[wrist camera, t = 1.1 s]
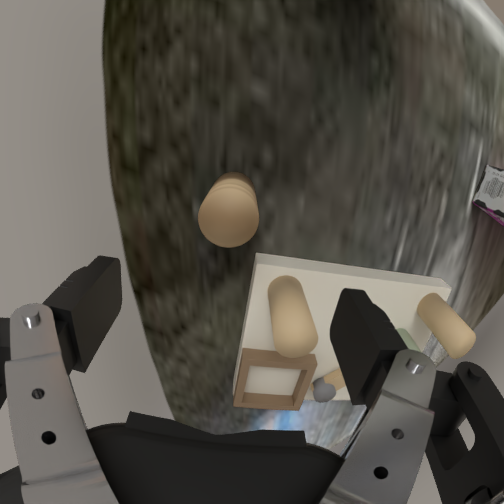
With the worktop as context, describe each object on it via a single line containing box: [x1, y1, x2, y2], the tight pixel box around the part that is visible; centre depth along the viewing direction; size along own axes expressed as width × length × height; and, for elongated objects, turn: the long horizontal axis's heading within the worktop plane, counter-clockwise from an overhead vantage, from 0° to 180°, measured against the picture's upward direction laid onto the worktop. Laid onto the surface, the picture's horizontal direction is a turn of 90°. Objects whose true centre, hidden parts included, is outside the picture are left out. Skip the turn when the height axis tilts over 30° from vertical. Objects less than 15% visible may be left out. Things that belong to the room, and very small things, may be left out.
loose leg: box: [198, 172, 259, 248], centre depth 22 cm, size 4×4×8 cm
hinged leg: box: [310, 328, 422, 402], centre depth 25 cm, size 12×3×10 cm, turn 126°
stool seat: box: [233, 253, 476, 411], centre depth 27 cm, size 16×21×9 cm
